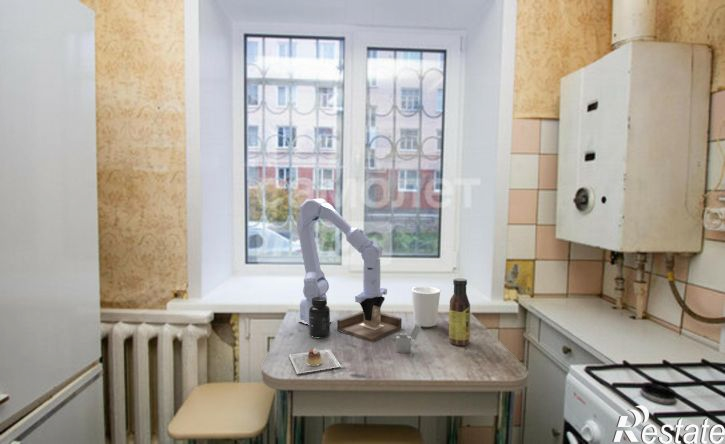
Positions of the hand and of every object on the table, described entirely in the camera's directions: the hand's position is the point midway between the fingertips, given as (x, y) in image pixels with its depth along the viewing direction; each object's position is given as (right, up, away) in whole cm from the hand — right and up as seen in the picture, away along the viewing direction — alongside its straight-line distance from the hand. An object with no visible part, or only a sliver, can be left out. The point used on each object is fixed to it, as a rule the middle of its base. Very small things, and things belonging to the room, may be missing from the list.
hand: (371, 318), depth 131 cm
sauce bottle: (+27, -5, -11) cm, 30 cm away
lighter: (+10, -5, -18) cm, 21 cm away
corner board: (-1, -3, 0) cm, 4 cm away
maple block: (0, -2, 0) cm, 2 cm away
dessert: (-16, -6, -26) cm, 31 cm away
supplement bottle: (-17, -4, -5) cm, 18 cm away
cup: (+19, -3, +4) cm, 20 cm away
